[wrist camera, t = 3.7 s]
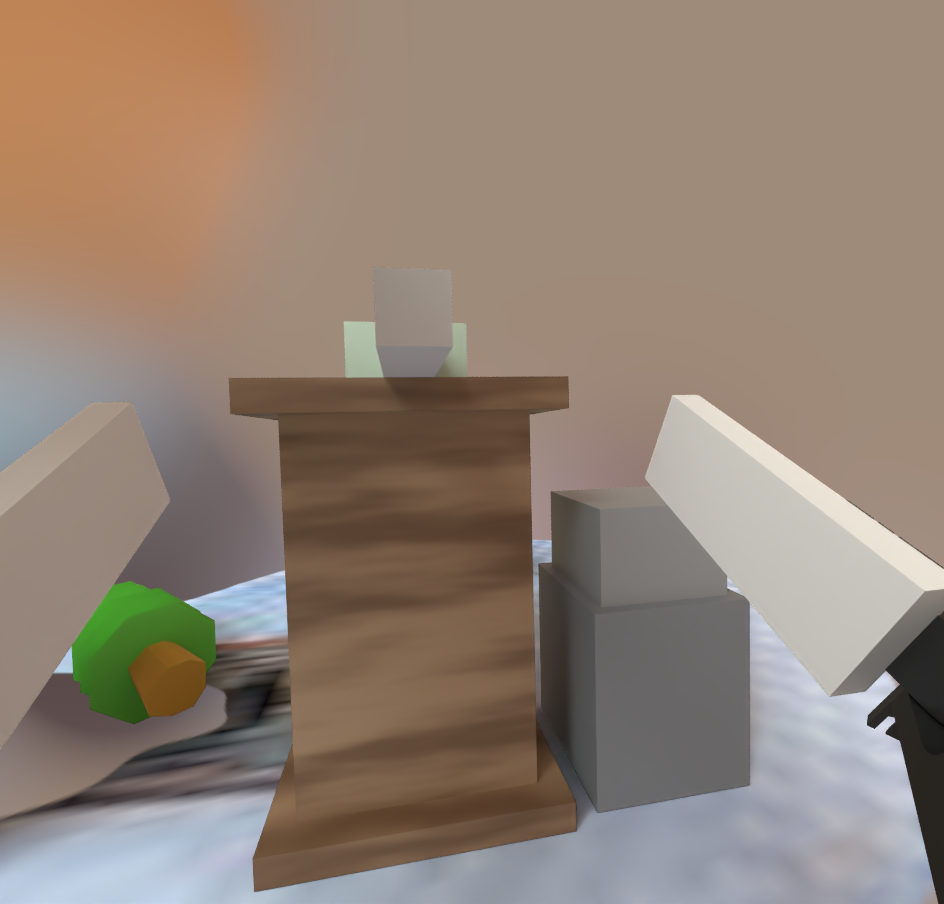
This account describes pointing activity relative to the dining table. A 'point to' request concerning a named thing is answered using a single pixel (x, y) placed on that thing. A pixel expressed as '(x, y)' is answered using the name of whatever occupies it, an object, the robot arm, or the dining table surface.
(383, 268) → the handled block
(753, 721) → the dining table surface
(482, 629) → the walnut stand
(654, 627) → the stepped grey block
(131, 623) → the decorative tree
